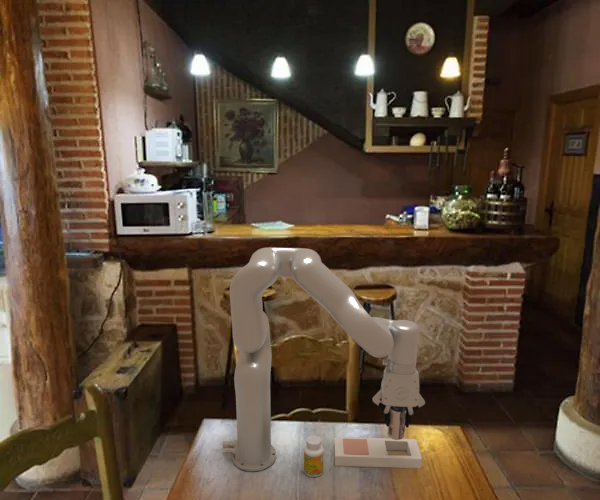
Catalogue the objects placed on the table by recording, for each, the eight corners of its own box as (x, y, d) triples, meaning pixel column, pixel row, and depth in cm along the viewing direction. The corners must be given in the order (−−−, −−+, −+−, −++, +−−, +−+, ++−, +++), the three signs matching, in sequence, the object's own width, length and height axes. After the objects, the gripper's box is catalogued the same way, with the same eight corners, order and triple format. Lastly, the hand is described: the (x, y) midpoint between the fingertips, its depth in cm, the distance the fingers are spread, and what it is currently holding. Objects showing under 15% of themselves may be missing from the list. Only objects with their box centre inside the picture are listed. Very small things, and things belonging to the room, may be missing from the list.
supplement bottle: (300, 474, 132) (301, 443, 130) (307, 462, 137) (307, 432, 134) (319, 479, 130) (320, 447, 128) (325, 467, 135) (326, 436, 133)
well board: (334, 465, 136) (335, 455, 135) (334, 445, 144) (334, 436, 144) (421, 468, 135) (422, 458, 134) (415, 448, 143) (415, 438, 143)
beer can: (404, 442, 135) (407, 403, 132) (386, 439, 136) (390, 401, 133) (404, 432, 139) (407, 394, 137) (387, 430, 140) (390, 392, 138)
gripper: (372, 370, 129) (367, 430, 133) (436, 373, 129) (429, 433, 133) (369, 357, 137) (365, 415, 141) (429, 360, 136) (424, 418, 140)
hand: (396, 423), depth 137 cm, fingers closed on beer can, 4 cm apart
